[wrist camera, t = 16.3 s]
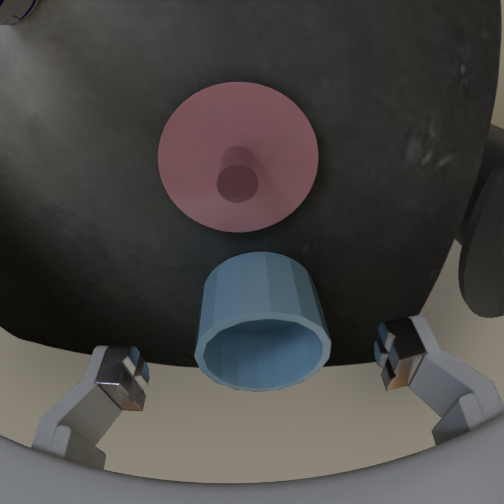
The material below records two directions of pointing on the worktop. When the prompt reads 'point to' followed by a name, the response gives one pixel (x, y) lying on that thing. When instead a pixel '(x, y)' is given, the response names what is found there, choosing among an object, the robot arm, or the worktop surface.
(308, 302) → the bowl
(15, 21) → the energy drink
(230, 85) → the cover plate
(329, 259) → the worktop surface
